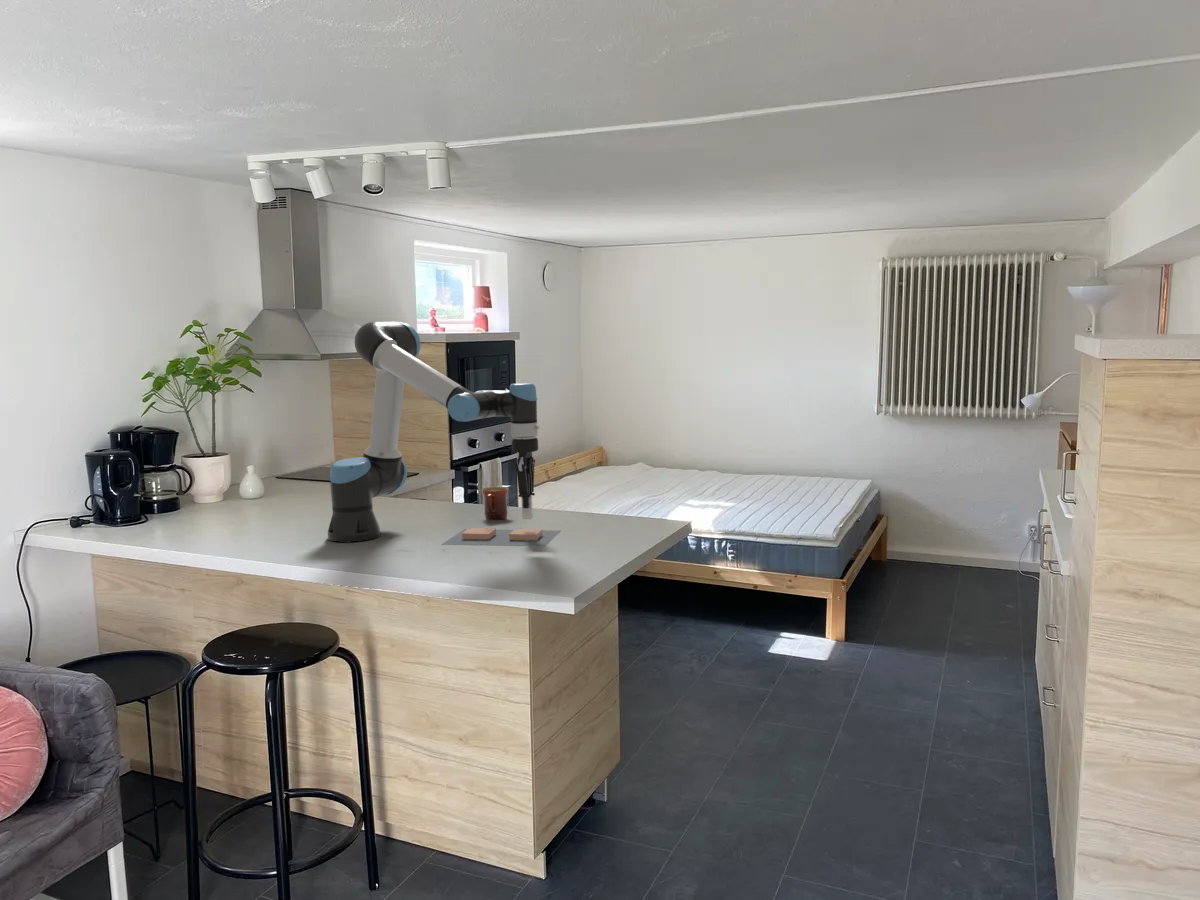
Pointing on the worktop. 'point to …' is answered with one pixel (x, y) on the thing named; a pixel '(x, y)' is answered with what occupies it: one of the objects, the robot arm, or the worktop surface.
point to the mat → (503, 539)
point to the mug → (495, 503)
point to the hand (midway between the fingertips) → (527, 518)
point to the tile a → (478, 533)
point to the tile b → (525, 534)
